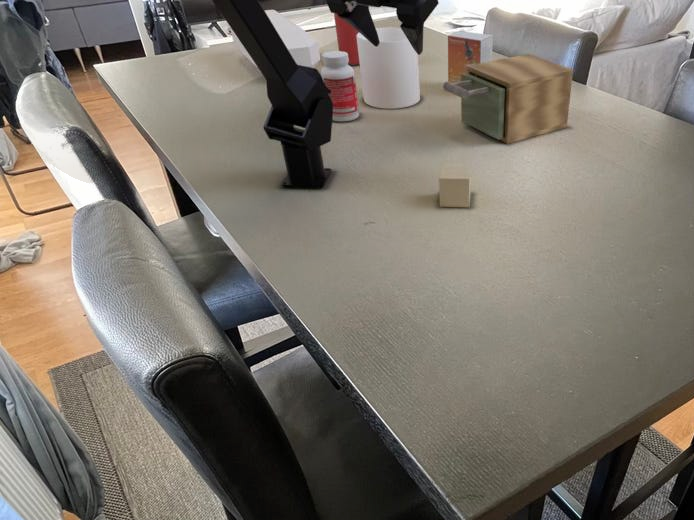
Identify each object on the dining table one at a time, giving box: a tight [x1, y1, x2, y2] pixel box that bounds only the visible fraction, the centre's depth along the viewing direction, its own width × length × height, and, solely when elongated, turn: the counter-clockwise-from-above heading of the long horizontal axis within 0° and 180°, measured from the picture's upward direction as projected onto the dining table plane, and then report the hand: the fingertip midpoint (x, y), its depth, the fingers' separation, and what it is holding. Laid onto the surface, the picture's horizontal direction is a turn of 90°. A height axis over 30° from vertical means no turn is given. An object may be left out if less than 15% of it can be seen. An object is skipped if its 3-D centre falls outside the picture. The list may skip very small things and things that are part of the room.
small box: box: [447, 30, 494, 87], centre depth 124 cm, size 8×6×10 cm
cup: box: [357, 26, 421, 110], centre depth 118 cm, size 12×12×12 cm
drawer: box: [442, 73, 507, 141], centre depth 106 cm, size 19×11×8 cm, turn 126°
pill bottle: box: [320, 50, 360, 122], centre depth 111 cm, size 6×6×11 cm
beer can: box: [333, 13, 360, 66], centre depth 138 cm, size 7×7×12 cm
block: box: [438, 165, 471, 208], centre depth 87 cm, size 4×4×4 cm
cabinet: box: [467, 53, 574, 145], centre depth 109 cm, size 15×13×10 cm
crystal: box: [230, 9, 321, 70], centre depth 135 cm, size 14×10×28 cm
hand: (398, 48), depth 100 cm, fingers open, 9 cm apart
